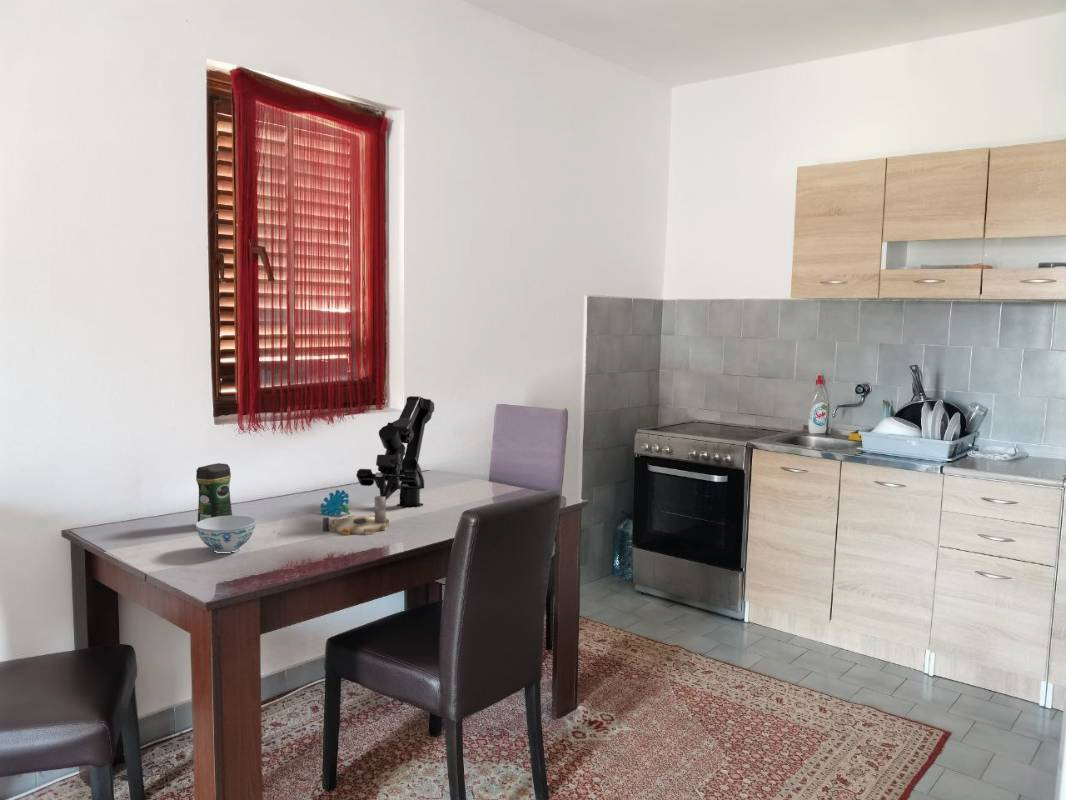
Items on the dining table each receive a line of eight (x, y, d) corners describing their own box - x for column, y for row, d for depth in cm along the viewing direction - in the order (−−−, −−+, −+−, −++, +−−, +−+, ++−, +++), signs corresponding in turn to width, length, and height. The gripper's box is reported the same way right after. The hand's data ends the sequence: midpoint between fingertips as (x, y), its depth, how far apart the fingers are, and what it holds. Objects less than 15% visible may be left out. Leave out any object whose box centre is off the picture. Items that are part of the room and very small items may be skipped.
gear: (313, 509, 258) (332, 484, 262) (322, 519, 262) (342, 495, 266) (335, 520, 251) (355, 494, 256) (345, 530, 255) (364, 504, 260)
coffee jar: (217, 520, 249) (216, 460, 247) (237, 523, 246) (235, 463, 244) (192, 527, 240) (190, 465, 239) (212, 530, 237) (210, 468, 235)
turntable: (327, 535, 232) (326, 504, 231) (334, 520, 249) (333, 491, 248) (386, 534, 234) (386, 503, 233) (389, 519, 251) (389, 491, 250)
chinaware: (237, 539, 228) (236, 512, 228) (267, 549, 219) (266, 521, 218) (185, 551, 217) (184, 522, 216) (215, 562, 207) (214, 532, 206)
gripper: (358, 442, 248) (345, 485, 238) (417, 444, 245) (407, 488, 236) (366, 463, 256) (355, 505, 247) (424, 465, 254) (414, 508, 244)
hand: (382, 501), depth 243 cm, fingers closed, pressing on turntable
